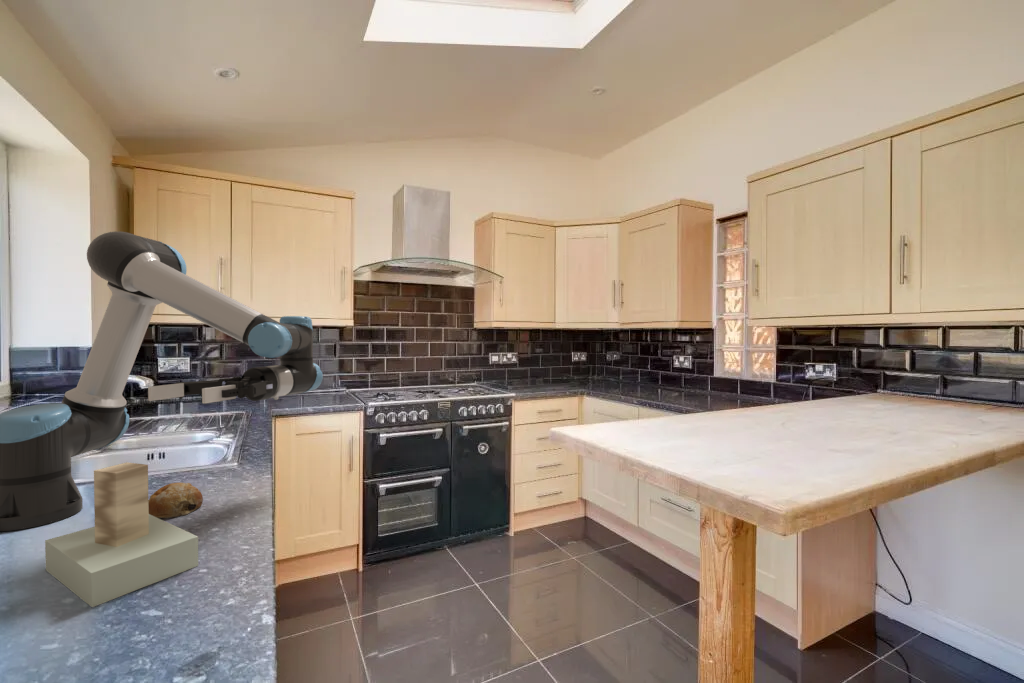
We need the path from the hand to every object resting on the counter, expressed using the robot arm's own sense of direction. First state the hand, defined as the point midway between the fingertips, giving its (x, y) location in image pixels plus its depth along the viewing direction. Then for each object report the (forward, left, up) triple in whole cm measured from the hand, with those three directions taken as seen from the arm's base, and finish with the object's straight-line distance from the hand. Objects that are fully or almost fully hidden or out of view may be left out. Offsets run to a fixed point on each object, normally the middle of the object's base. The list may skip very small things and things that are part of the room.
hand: (175, 395), depth 87 cm
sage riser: (+3, -9, -28) cm, 30 cm away
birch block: (+3, -9, -23) cm, 25 cm away
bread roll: (-18, +7, -28) cm, 34 cm away
